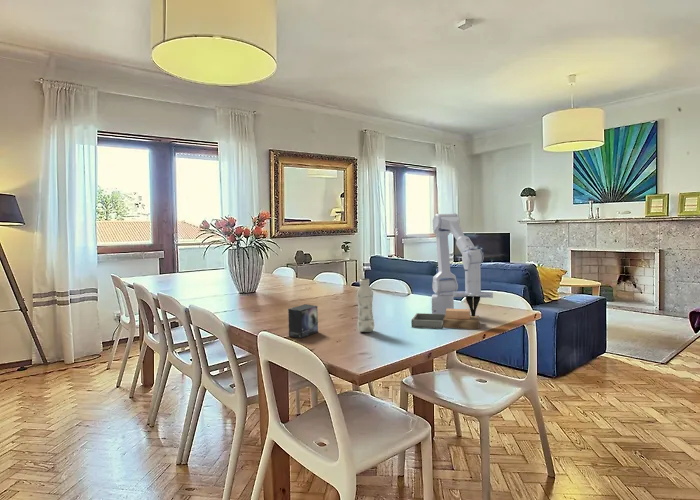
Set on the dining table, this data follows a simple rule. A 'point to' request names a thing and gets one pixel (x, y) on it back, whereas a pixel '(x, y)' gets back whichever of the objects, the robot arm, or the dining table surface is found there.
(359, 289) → the plastic bottle
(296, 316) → the small box
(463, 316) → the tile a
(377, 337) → the dining table surface
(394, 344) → the dining table surface
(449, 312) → the tan square block
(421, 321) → the tray
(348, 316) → the dining table surface
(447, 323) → the board
